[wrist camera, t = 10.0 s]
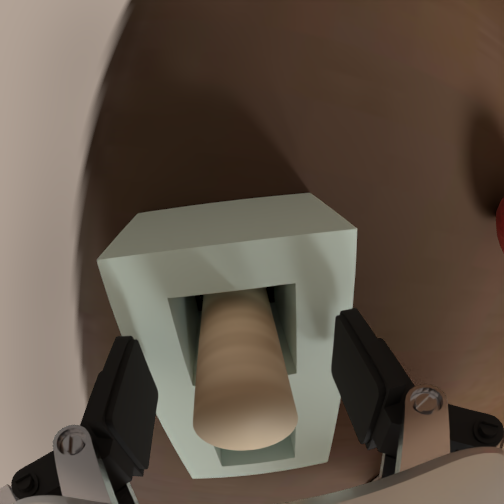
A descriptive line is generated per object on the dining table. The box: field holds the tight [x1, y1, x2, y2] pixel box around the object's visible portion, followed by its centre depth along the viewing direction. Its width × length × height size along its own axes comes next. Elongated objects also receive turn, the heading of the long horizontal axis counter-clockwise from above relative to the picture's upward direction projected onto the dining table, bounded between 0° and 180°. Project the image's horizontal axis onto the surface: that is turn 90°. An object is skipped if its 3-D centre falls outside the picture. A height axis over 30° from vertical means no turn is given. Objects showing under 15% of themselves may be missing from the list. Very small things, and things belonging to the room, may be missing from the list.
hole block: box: [97, 193, 357, 478], centre depth 16 cm, size 16×9×6 cm, turn 5°
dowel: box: [193, 287, 298, 451], centre depth 12 cm, size 3×3×10 cm
